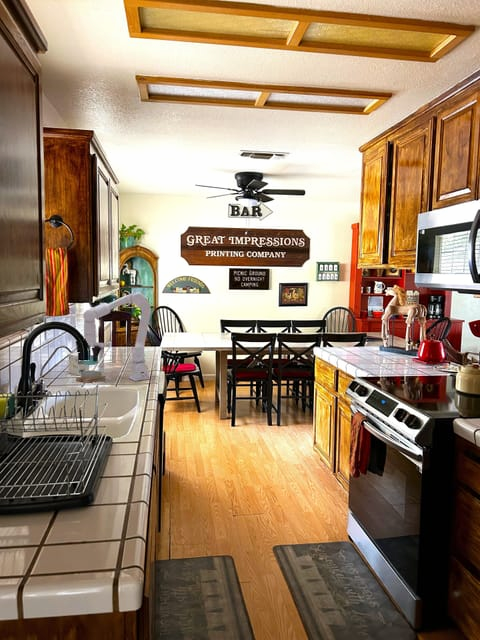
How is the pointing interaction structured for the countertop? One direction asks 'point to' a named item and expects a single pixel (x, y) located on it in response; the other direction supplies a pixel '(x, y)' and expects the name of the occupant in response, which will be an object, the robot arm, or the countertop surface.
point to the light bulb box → (76, 364)
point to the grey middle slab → (91, 374)
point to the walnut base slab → (86, 380)
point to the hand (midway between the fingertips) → (90, 360)
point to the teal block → (91, 361)
